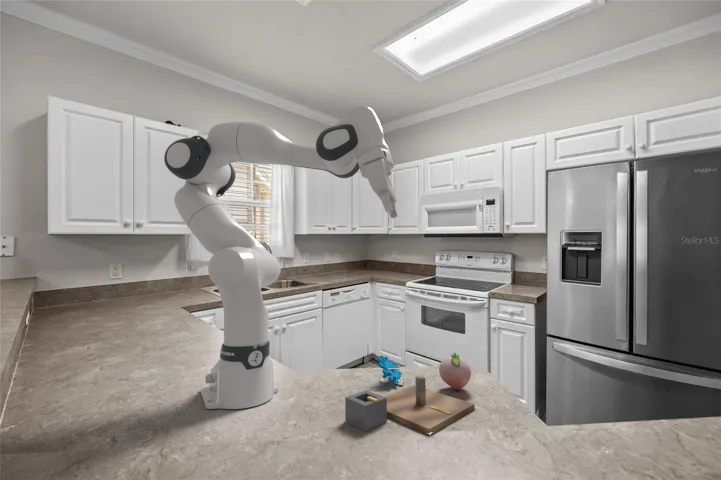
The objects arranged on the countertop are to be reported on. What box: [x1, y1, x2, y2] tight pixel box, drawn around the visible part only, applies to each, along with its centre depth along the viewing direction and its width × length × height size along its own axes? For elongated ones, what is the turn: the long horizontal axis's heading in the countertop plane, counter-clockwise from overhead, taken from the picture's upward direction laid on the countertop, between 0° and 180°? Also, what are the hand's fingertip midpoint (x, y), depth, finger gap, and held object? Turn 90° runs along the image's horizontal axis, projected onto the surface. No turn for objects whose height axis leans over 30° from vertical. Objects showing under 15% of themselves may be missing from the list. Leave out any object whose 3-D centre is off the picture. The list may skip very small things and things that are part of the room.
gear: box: [377, 354, 403, 385], centre depth 95 cm, size 11×6×10 cm
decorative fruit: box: [438, 352, 472, 391], centre depth 89 cm, size 9×8×10 cm
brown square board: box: [383, 375, 475, 434], centre depth 76 cm, size 18×18×7 cm
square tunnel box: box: [344, 389, 388, 433], centre depth 70 cm, size 6×6×5 cm
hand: (392, 214), depth 82 cm, fingers open, 8 cm apart
